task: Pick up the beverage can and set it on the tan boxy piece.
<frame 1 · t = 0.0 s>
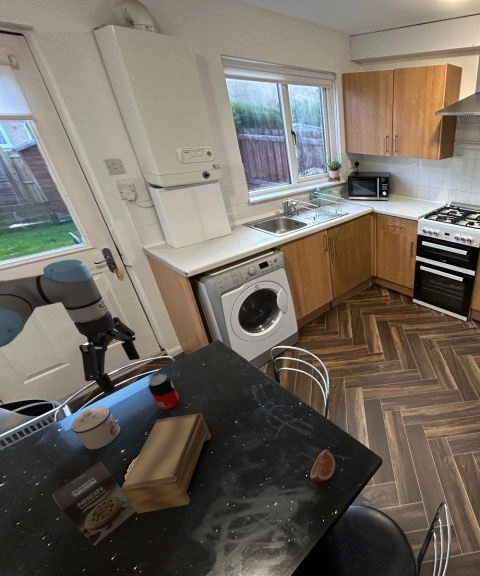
hand: (123, 374, 93), 21 cm above the table, tool pointing down, fingers open, 13 cm apart
brown cardboard box: (111, 520, 78), on the table
white round tub: (103, 434, 99), on the table
beverage can: (169, 404, 109), on the table
fruit slice: (323, 472, 89), on the table
tan boxy piece: (178, 470, 89), on the table
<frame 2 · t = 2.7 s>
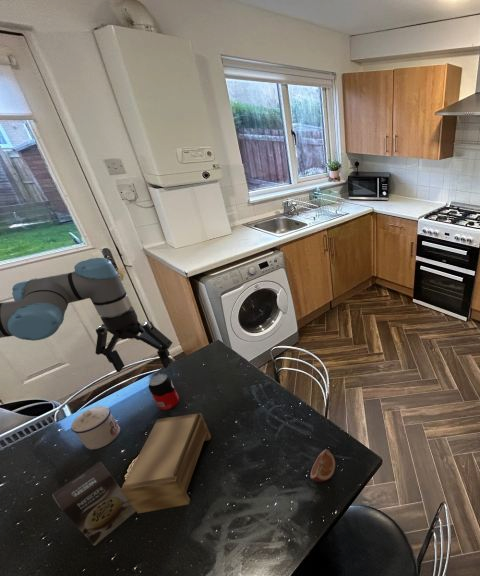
hand: (144, 367, 98), 19 cm above the table, tool pointing down, fingers open, 13 cm apart
nothing on the table moved.
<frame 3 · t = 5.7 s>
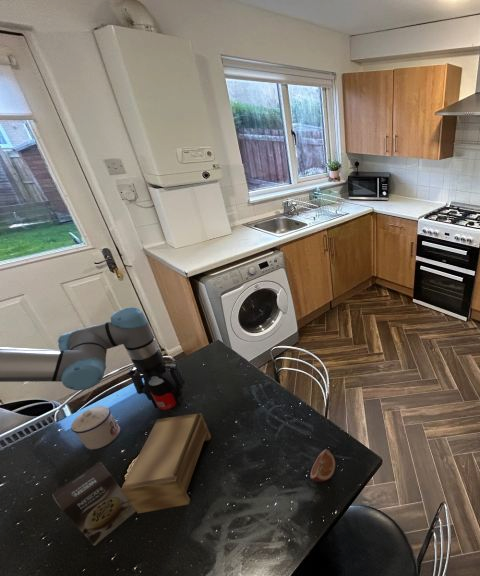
hand: (169, 403, 109), 0 cm above the table, tool pointing down, fingers closed on beverage can, 6 cm apart
beverage can: (169, 404, 109), on the table, touching gripper
everything else where it was.
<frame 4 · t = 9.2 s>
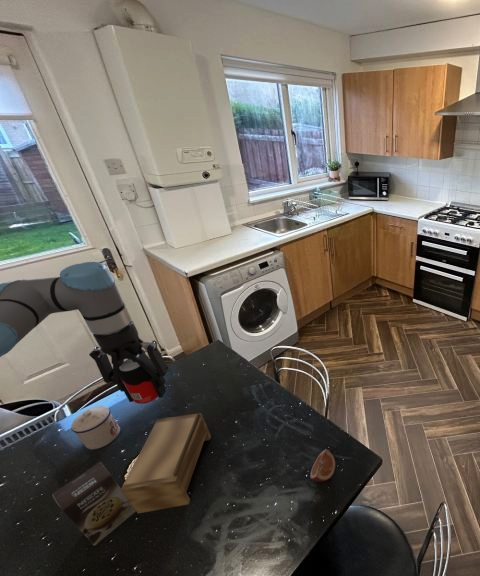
hand: (148, 395, 84), 23 cm above the table, tool pointing down, fingers closed on beverage can, 6 cm apart
beverage can: (149, 397, 84), point 22 cm above the table, touching gripper
everything else where it was.
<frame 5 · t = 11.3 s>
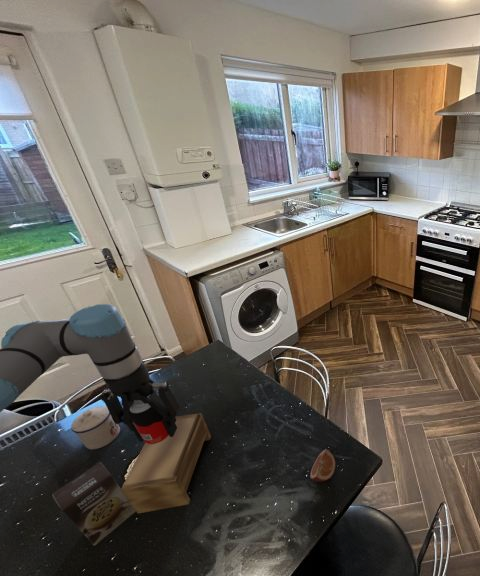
hand: (158, 434, 81), 16 cm above the table, tool pointing down, fingers closed on beverage can, 6 cm apart
beverage can: (159, 435, 81), point 16 cm above the table, touching gripper
everything else where it was.
when the fingers open (11 cm above the table, at t = 12.9 s): beverage can stays where it is, resting on tan boxy piece.
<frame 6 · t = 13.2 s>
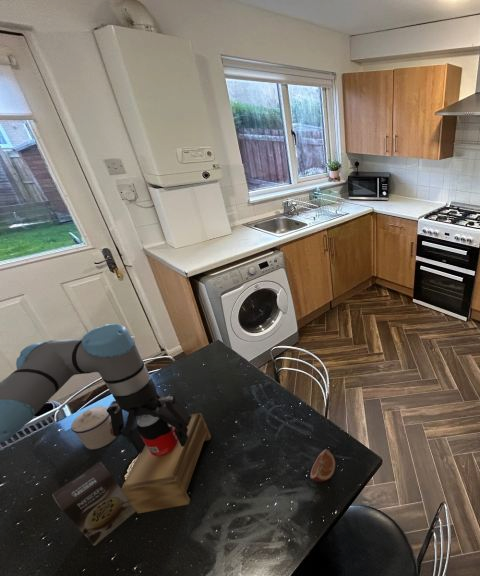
hand: (163, 444, 83), 12 cm above the table, tool pointing down, fingers open, 10 cm apart
beverage can: (165, 447, 83), point 11 cm above the table, touching tan boxy piece
everything else where it was.
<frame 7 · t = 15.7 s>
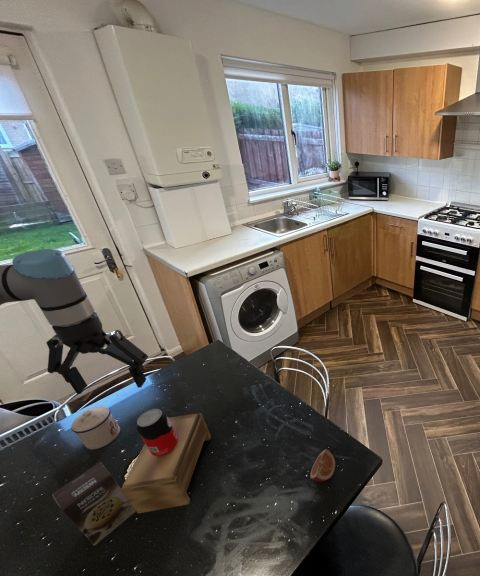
hand: (112, 386, 79), 28 cm above the table, tool pointing down, fingers open, 13 cm apart
nothing on the table moved.
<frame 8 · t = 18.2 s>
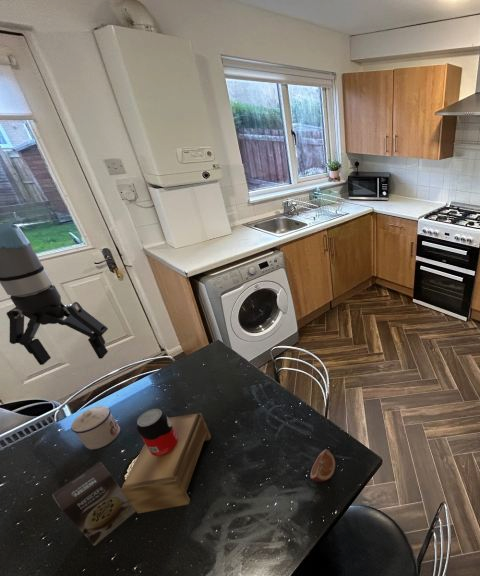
hand: (75, 358, 83), 32 cm above the table, tool pointing down, fingers open, 13 cm apart
nothing on the table moved.
at the end: beverage can inside the target area on the tan boxy piece (0.0 cm from its centre), point 10.8 cm above the tan boxy piece's base; beverage can tilted 0°; the gripper is holding nothing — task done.
